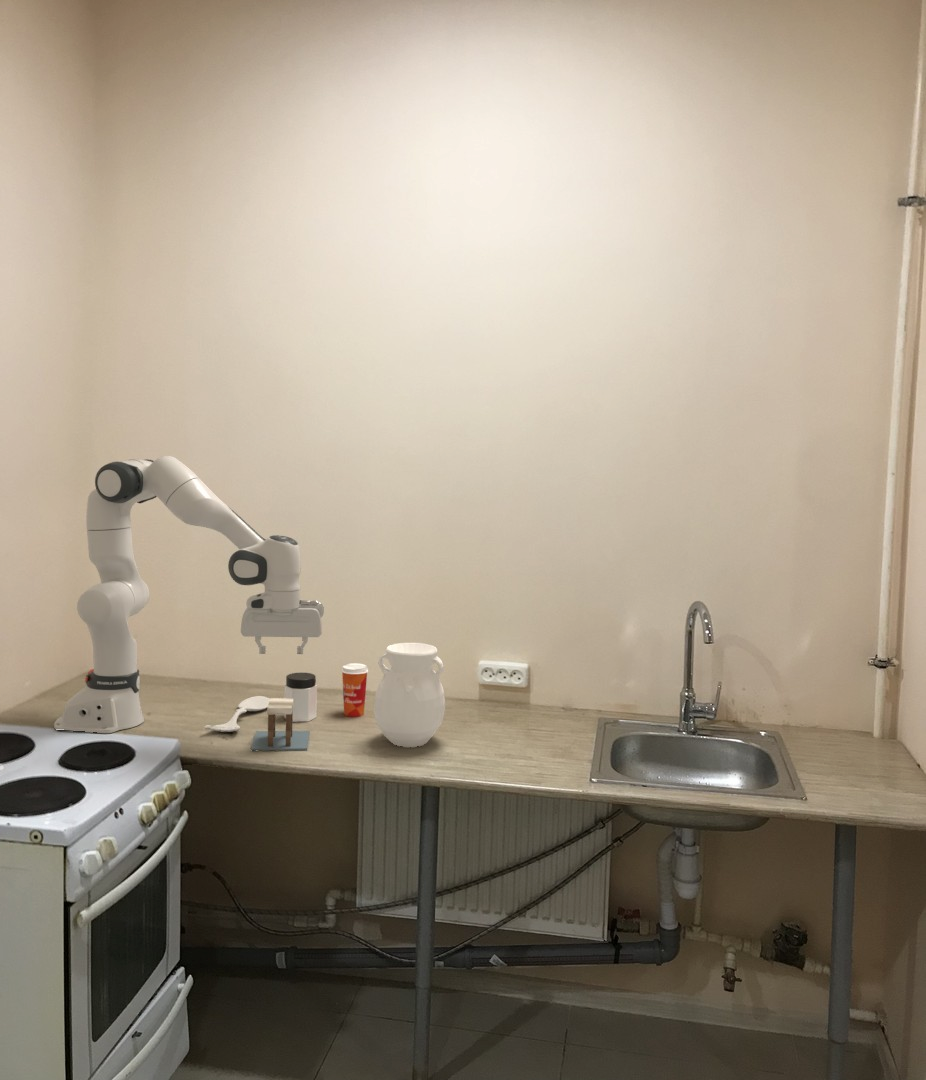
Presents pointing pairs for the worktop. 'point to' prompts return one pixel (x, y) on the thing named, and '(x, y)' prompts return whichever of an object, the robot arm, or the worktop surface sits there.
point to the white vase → (410, 694)
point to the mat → (281, 741)
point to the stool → (280, 708)
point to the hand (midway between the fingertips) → (281, 653)
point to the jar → (302, 696)
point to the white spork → (246, 705)
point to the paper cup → (354, 689)
